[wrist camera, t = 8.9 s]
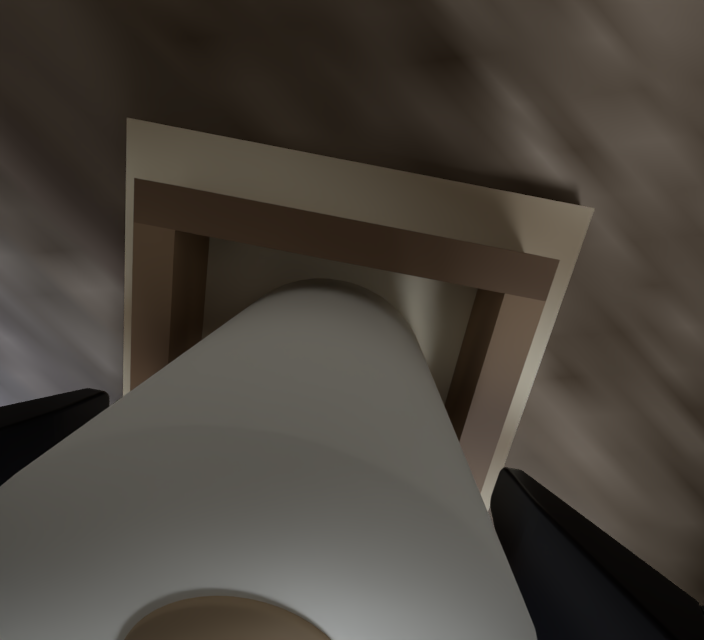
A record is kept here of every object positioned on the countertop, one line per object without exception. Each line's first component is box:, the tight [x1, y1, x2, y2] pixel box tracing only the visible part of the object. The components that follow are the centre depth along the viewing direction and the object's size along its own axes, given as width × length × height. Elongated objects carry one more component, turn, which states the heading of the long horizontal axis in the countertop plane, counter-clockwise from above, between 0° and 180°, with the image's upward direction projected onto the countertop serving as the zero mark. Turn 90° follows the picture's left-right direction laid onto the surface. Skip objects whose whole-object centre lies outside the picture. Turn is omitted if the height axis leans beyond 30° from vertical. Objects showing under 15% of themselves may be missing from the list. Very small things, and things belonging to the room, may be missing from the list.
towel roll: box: [0, 278, 537, 640], centre depth 8 cm, size 6×6×8 cm
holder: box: [123, 118, 595, 511], centre depth 11 cm, size 13×13×3 cm
